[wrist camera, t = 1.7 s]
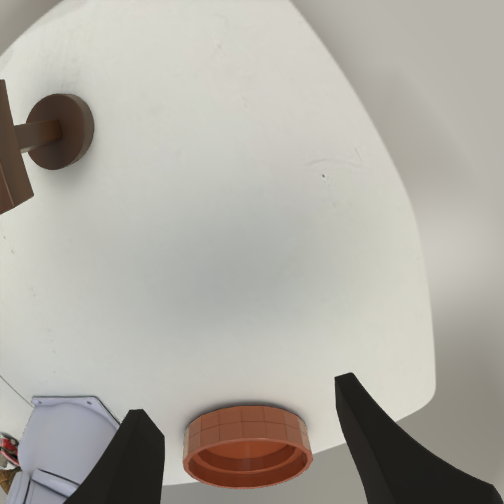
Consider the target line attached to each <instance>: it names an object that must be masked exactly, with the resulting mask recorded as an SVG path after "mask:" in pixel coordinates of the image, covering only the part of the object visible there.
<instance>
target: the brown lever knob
mask: <svg viewBox="0 0 504 504" xmlns="http://www.w3.org/2000/svg"><path fill="white" fill-rule="evenodd" d="M93 131H94V123H93V117H92V114H91V111H90V109H89V107H88V106H87V104H86V103H85V102H84V101H83V100H82V99H81V98H79V97H77V96H75V95H72V94H52V95H49V96H46V97H44V98H43V99H41V100H40V101H39V102H38V103H37V104H36V105H35V106H34V107H33V109H32V110H31V112H30V114H29V116H28V118H27V121H26V124H21V125H15V126H14V124H13V120H12V115H11V111H10V106H9V101H8V95H7V90H6V84H5V80H0V215H1V214H3V213H5V212H7V211H9V210H11V209H13V208H15V207H16V206H18V205H20V204H21V203H23V202H25V201H27V200H28V199H30V198H32V197H33V196H34V193H33V190H32V187H31V184H30V181H29V178H28V175H27V172H26V169H25V165H24V162H23V158H22V155H21V153H24V152H28V154H29V155H30V157H31V159H32V160H33V161H34V162H35V163H36V164H37V165H39V166H40V167H42V168H45V169H48V170H57V169H61V168H64V167H66V166H69V165H71V164H73V163H75V162H76V161H78V160H79V159H80V158H81V157H82V156H83V155H84V154H85V153H86V151H87V150H88V148H89V146H90V143H91V141H92V137H93Z"/></svg>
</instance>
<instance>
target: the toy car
mask: <svg viewBox="0 0 504 504" xmlns="http://www.w3.org/2000/svg"><path fill="white" fill-rule="evenodd" d="M7 439H8V438H4V437H0V453H1V454H2V455H3V456H4V457H6V458H7V459H8V460H9V461H11V462H12V463H14V464H15V465H19V466H20V464H19V462H18V447H15V446H16V441H15V440H14V439H13V438H11V439H10V442H9V439H8V440H7ZM11 444H12V445H11ZM1 448H2V449H3V450H1Z"/></svg>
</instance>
